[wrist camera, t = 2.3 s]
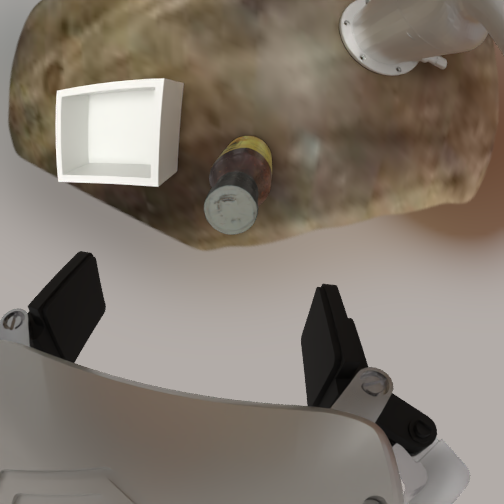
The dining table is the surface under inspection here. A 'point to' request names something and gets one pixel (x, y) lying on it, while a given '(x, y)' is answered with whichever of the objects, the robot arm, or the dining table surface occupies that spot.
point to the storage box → (119, 132)
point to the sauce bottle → (238, 185)
